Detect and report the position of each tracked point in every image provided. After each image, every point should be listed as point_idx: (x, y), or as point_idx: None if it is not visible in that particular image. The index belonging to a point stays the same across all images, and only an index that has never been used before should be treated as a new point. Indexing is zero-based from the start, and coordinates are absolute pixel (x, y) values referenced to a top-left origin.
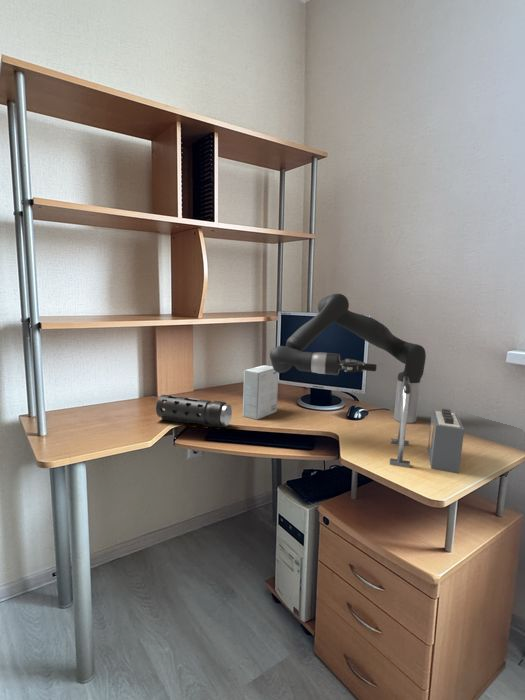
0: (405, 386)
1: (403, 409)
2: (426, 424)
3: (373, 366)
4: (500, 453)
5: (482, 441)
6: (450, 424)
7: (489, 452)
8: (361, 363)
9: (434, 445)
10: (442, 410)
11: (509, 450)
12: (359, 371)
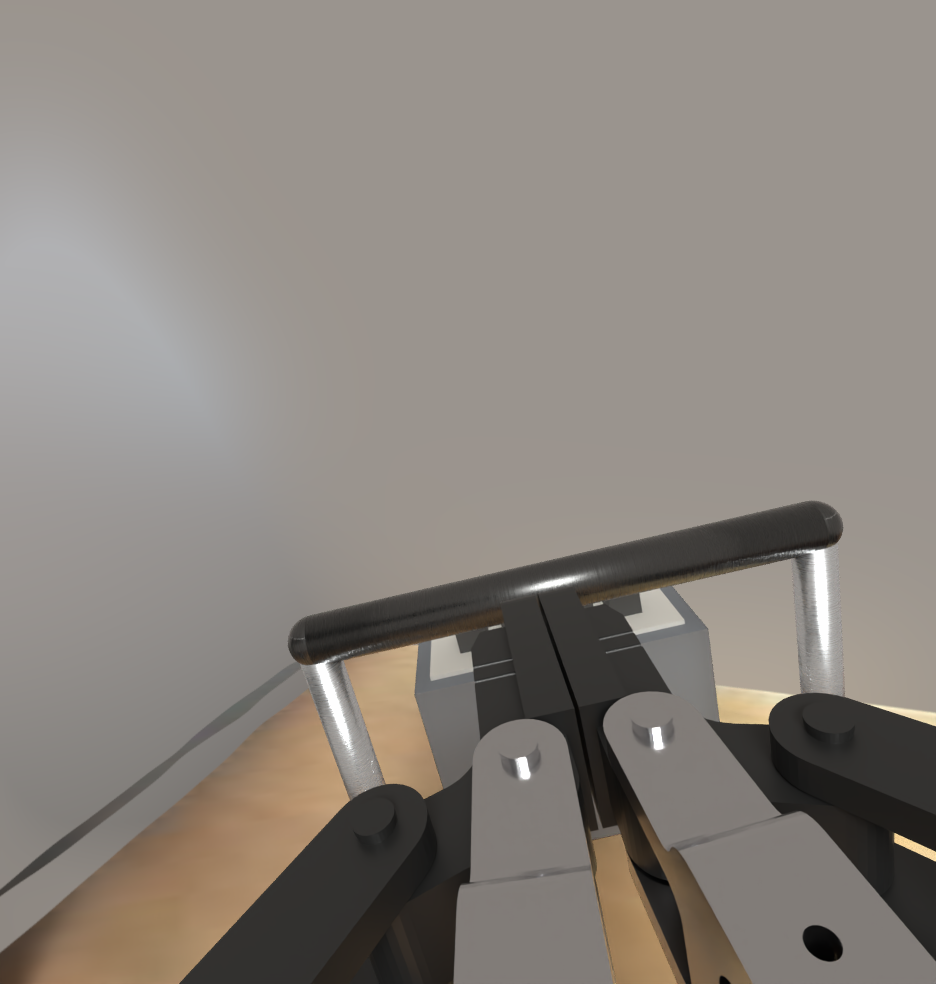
0: (748, 526)
1: (842, 657)
2: (46, 941)
3: (618, 614)
4: (397, 675)
5: (289, 722)
6: (643, 599)
7: (400, 695)
8: (662, 761)
9: (718, 714)
10: (481, 629)
11: (358, 665)
12: (928, 877)
